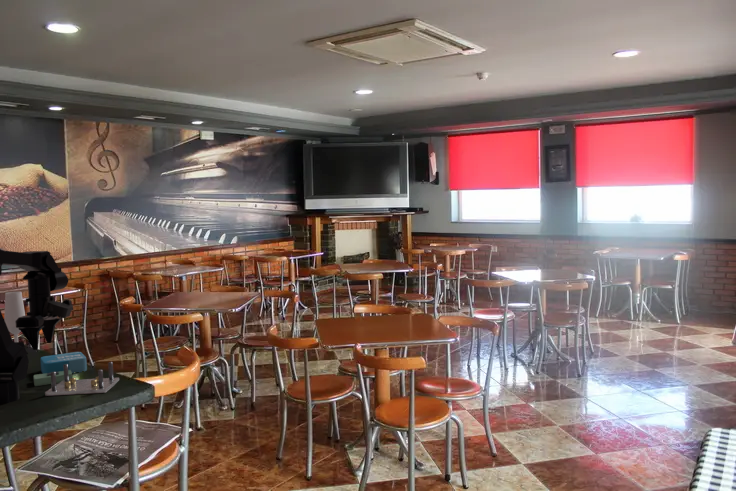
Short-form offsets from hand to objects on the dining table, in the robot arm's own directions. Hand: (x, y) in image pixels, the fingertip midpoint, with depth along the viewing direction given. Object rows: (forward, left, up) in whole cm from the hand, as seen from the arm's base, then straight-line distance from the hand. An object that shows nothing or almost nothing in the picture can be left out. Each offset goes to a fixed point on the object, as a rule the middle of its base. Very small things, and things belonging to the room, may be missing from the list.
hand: (42, 346), depth 180 cm
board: (+2, -2, -12) cm, 12 cm away
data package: (+19, +3, -9) cm, 21 cm away
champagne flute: (+30, +21, -11) cm, 39 cm away
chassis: (-8, -14, -11) cm, 20 cm away
